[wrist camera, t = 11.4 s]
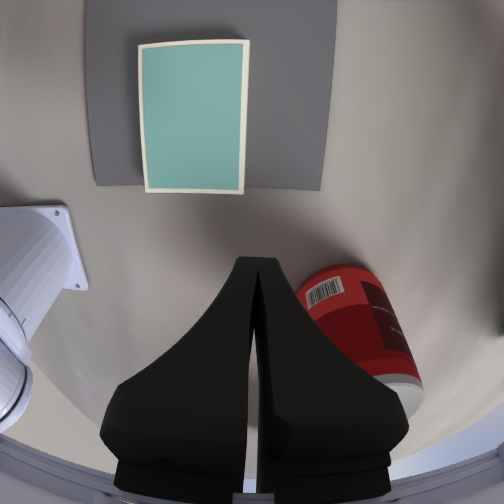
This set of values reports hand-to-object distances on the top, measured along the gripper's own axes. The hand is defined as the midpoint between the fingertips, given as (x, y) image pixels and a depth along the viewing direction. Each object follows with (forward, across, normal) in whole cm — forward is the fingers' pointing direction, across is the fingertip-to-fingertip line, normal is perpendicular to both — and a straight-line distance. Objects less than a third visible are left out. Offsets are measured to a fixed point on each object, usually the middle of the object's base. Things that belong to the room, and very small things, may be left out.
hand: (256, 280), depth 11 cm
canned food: (+11, -7, +10) cm, 16 cm away
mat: (+10, +4, -6) cm, 13 cm away
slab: (+9, +1, -4) cm, 10 cm away
